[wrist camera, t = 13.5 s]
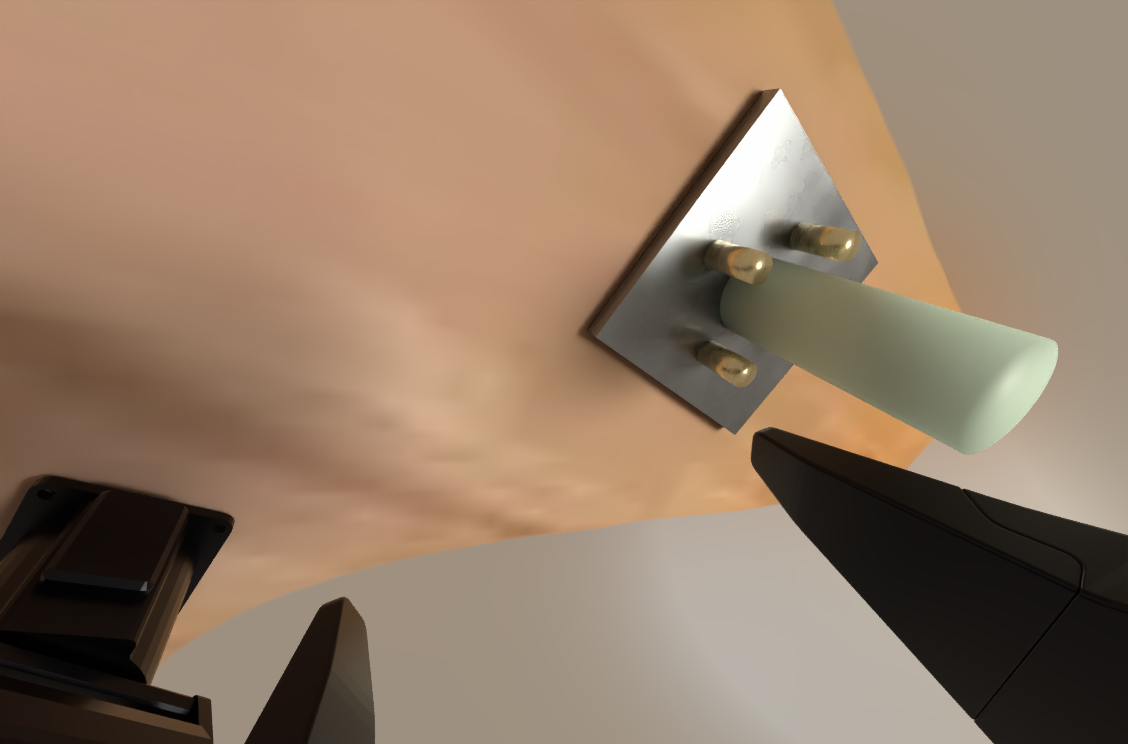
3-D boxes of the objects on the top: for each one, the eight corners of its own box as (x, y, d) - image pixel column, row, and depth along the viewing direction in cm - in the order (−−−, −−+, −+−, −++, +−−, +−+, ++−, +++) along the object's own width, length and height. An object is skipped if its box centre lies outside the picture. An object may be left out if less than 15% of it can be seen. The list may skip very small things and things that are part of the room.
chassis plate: (724, 427, 31) (768, 461, 27) (587, 330, 23) (625, 362, 20) (863, 259, 29) (928, 274, 25) (763, 90, 21) (839, 81, 18)
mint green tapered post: (765, 336, 27) (999, 451, 17) (709, 330, 25) (936, 457, 15) (796, 262, 25) (1077, 342, 15) (738, 250, 23) (1016, 334, 13)
